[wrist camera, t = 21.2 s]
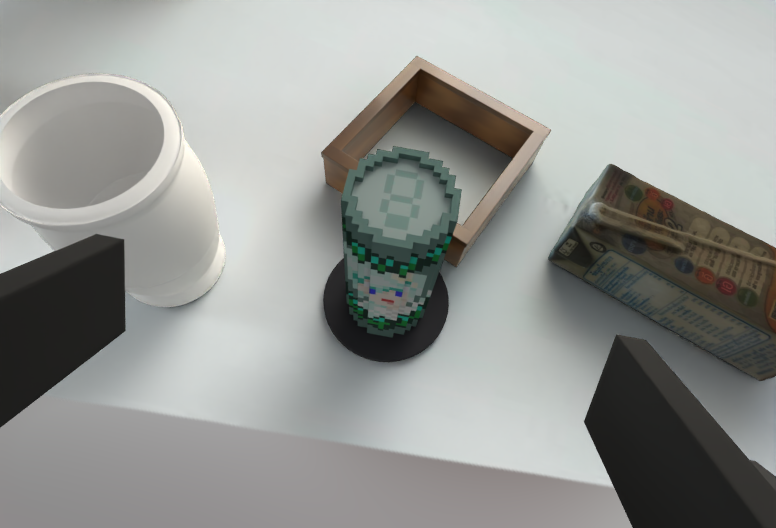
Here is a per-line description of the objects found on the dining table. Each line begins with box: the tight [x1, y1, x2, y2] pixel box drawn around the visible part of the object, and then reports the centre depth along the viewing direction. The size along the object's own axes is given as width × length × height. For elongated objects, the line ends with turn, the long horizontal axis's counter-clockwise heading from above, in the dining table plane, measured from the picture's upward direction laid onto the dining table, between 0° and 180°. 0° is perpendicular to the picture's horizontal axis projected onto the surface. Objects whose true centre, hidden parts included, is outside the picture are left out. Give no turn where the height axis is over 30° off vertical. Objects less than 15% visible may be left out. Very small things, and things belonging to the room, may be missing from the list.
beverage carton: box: [548, 164, 776, 381], centre depth 39 cm, size 8×19×7 cm, turn 56°
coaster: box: [324, 258, 449, 362], centre depth 40 cm, size 10×10×1 cm
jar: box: [0, 73, 226, 307], centre depth 34 cm, size 11×10×15 cm
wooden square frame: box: [321, 56, 551, 267], centre depth 44 cm, size 14×14×4 cm
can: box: [341, 146, 462, 338], centre depth 32 cm, size 6×6×15 cm
